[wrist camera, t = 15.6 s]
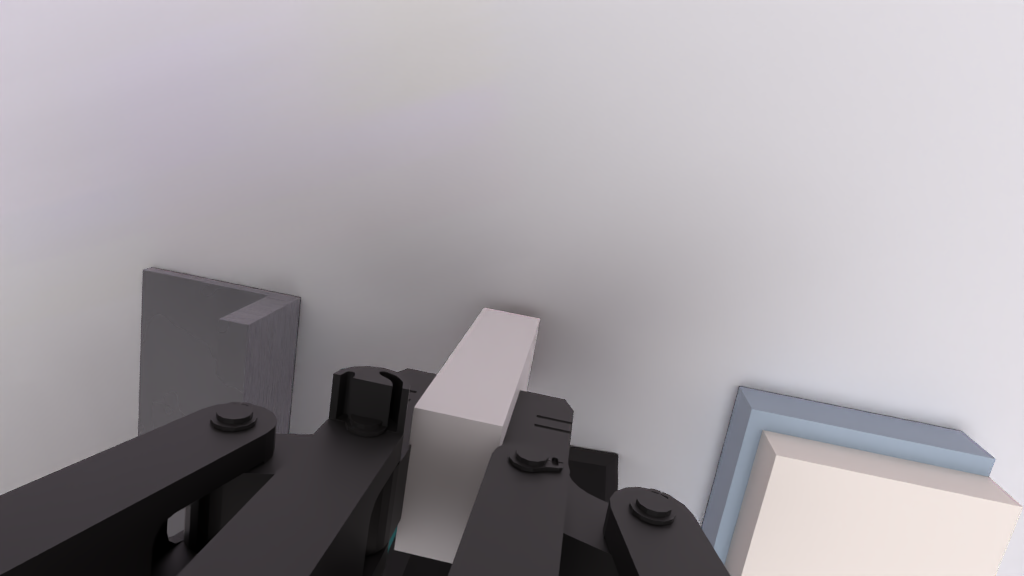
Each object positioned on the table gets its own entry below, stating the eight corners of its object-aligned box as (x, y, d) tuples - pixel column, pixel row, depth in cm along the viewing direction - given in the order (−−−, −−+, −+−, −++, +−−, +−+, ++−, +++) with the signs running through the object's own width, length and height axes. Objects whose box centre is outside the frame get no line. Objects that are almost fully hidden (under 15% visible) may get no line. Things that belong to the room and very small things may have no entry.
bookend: (139, 644, 24) (74, 716, 21) (151, 267, 20) (75, 289, 17) (266, 677, 23) (218, 755, 20) (300, 297, 20) (248, 325, 17)
